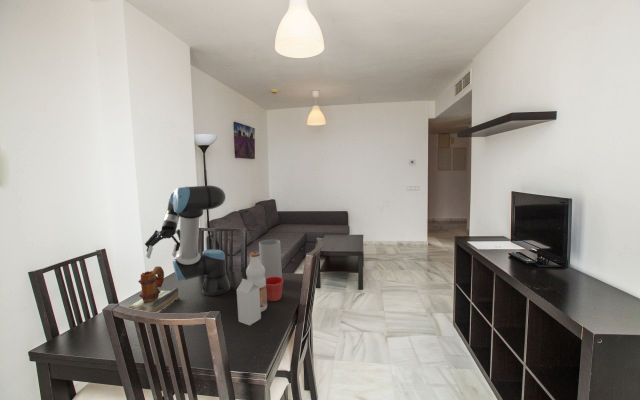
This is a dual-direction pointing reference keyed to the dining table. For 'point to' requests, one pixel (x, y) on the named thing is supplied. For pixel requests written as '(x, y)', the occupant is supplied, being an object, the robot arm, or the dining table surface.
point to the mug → (151, 284)
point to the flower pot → (274, 288)
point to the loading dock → (157, 301)
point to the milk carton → (248, 302)
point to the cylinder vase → (271, 257)
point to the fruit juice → (257, 277)
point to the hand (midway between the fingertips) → (160, 256)
